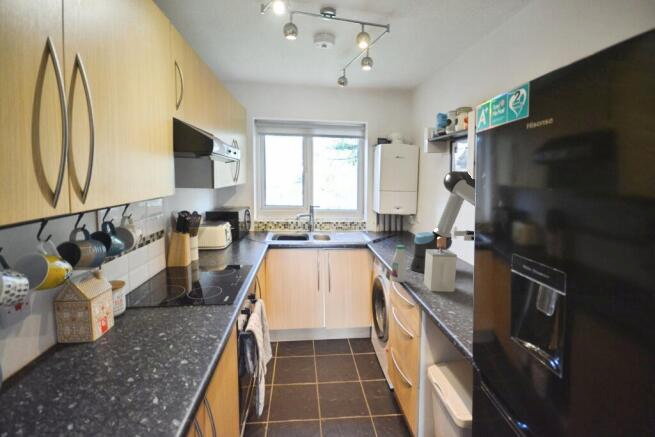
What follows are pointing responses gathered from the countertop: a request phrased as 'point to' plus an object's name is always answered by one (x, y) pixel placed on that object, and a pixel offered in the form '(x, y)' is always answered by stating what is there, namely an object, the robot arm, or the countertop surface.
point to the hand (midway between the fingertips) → (458, 235)
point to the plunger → (441, 243)
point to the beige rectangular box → (440, 270)
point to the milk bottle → (399, 265)
